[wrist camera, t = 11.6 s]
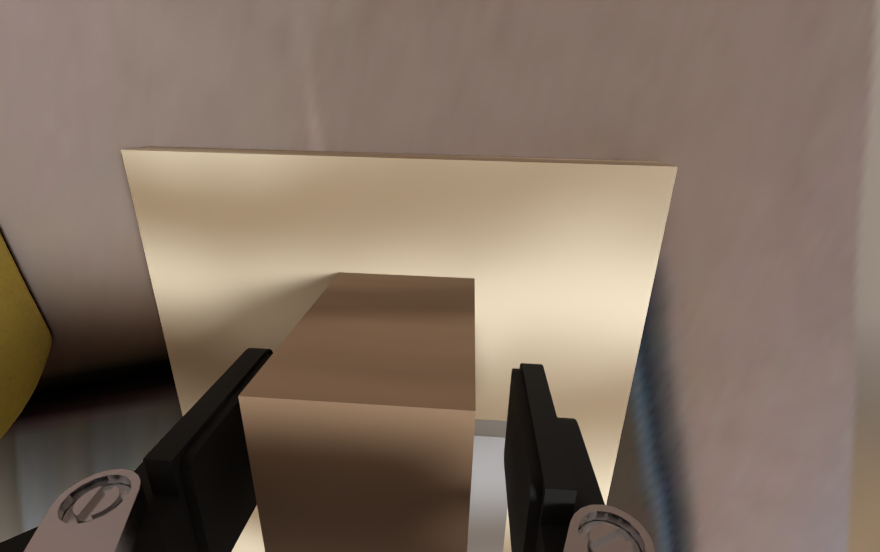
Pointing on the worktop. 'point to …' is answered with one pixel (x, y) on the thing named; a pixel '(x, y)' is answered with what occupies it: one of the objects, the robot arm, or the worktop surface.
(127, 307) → the worktop surface
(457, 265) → the board
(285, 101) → the worktop surface
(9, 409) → the flower pot
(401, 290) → the block on grey plate
